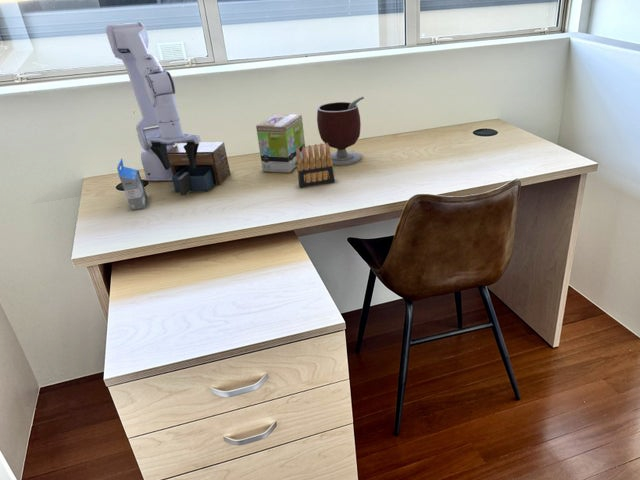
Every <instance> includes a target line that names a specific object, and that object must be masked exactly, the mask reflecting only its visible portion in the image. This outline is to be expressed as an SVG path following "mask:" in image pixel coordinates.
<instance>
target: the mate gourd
mask: <svg viewBox="0 0 640 480" xmlns="http://www.w3.org/2000/svg"><path fill="white" fill-rule="evenodd" d="M364 99H365V97H364V96H360V97H358V98H356V99H354V100H353V101H351V102H350V101H333V102H327V103H322V104H320V105H318V106H317V110H316V112H317V113H316V123H317V130H318V134H319V137H320V139H321V141H322V142H323V143H324V144H325V145H326V143H328V145H329V148H333V149H337V150H336V152H330V154H331V158H332V166H346V165H347V166H348V165H352V164H356V163H358V162H359V161H361V154H360V153H359V152H355V151H347V148H350V147H352V146H353V145H355V144H356V143H357V141H358V140H359V138H360V135H361V125H362V123H361V115H360V111H359V107H358V106H359V105H358V104H357V103H359V102H360V101H362V100H364ZM325 157H326V155H325Z"/></svg>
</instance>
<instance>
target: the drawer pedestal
mask: <svg viewBox="0 0 640 480" xmlns="http://www.w3.org/2000/svg"><path fill="white" fill-rule="evenodd" d="M186 144H187V143H177V144H176V145H174V148H172V149H171V150H170V151H169V152H167V154H168V158H169V162H170V166H171V170H172V174H173V176H174V175H175V174H176V173H177V172H178V171H180V170H181V169H182V168H183V167H184V166H190V163H189V159H188V156H187V153H186V151H185V149H184V146H185V145H186ZM227 155H228V154H227V151H226V146H225V142H224V141H201V142H200V143H199V146H198V150H197V155H196V166H212V168H213V173H214V177H215V182H216V183H215V185H216V186H222V184H223V183H224V182H225V180H226V179H227V178H229V176H230V175H231V170H230V165H229V161H228V156H227Z"/></svg>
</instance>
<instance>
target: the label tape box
mask: <svg viewBox="0 0 640 480" xmlns="http://www.w3.org/2000/svg"><path fill="white" fill-rule="evenodd" d="M116 169H117V174H118V178H119V180H120V183H121V185H122V189H123V191H124V194H125V196H126V200H127V202H128V205H129V207H130V208H129V209H130V210H131V211H132V210H134V211H135V210H140V209H141V210H142V209H145V208H146V204H147V200H148V195H147V192H146V189H145V188H146V187H145V185H144V182H143V180H142V177H141V173H140V170H138V169H136V168H131V167H128V166H124V161H123V158H122V157H121V158H120V160H119V162H118V164H117V167H116Z"/></svg>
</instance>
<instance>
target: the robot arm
mask: <svg viewBox="0 0 640 480" xmlns="http://www.w3.org/2000/svg"><path fill="white" fill-rule="evenodd" d="M105 32H106V37H107V41H108V43H109V46H110V49H111V52H112V54H113V55H114V58H116V59H118V60H121V61H122V63H123V65H124V67H125V69H126V72H127V75H128V78H129V81H130V84H131V88H132V90H133V93H134V96H135V99H136V102H137V106H138V109H139V112H140V114H141V119H139V121H138V122H137V123H136V125H135V126H136V127H135V130H136V133H137V138H138V141H139V144H140V147H141V149H142V151H141V153H140V161H141V165H142V168H143V171H144V175H145V179H144V180H145V181H146V182H148V181H149V182H152V181H153V182H157V181H158V182H160V181H163V182H164V181H172V177H173V174H172V170H171V166H170V162H169V158H168V154H167V152H169V151H170V150H171V149H173V148H174V147H175V146H176V144H179V143H187V144H186V145H185V146H184V149H185V151H186V153H187V156H188V159H189V163H190V167H191V169H195V168H196V155H197V150H198V146H199V143H200V142H202V140H201V137H200V136H201V135H200V134H191V133H184V130H183V127H182V123H181V120H180V115H179V111H178V107H177V103H176V99H175V96H174V95H176V85H175V82H174V79H173V76H172V75H171V73H170V72H169V70H166V69H163V67H162V65H161V64H160V62H159V60H158V58H157V57H156V56H155V55H154V54H152V53H150V52H149V41H150V39H149V35H148V32H147V28H146V26H145V24H144V23H143V22H141V21H137V22H128V23H120V24H107V25H106V26H105Z"/></svg>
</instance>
